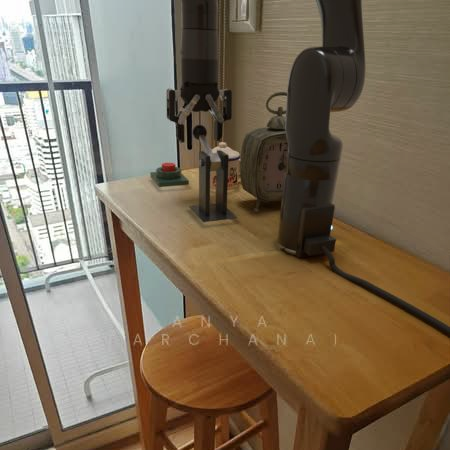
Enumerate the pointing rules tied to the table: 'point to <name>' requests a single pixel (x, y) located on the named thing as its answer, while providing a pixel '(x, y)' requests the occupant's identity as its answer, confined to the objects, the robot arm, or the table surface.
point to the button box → (169, 178)
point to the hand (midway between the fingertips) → (199, 141)
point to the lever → (207, 147)
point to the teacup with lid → (232, 166)
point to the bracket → (220, 207)
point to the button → (168, 167)
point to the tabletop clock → (265, 158)
